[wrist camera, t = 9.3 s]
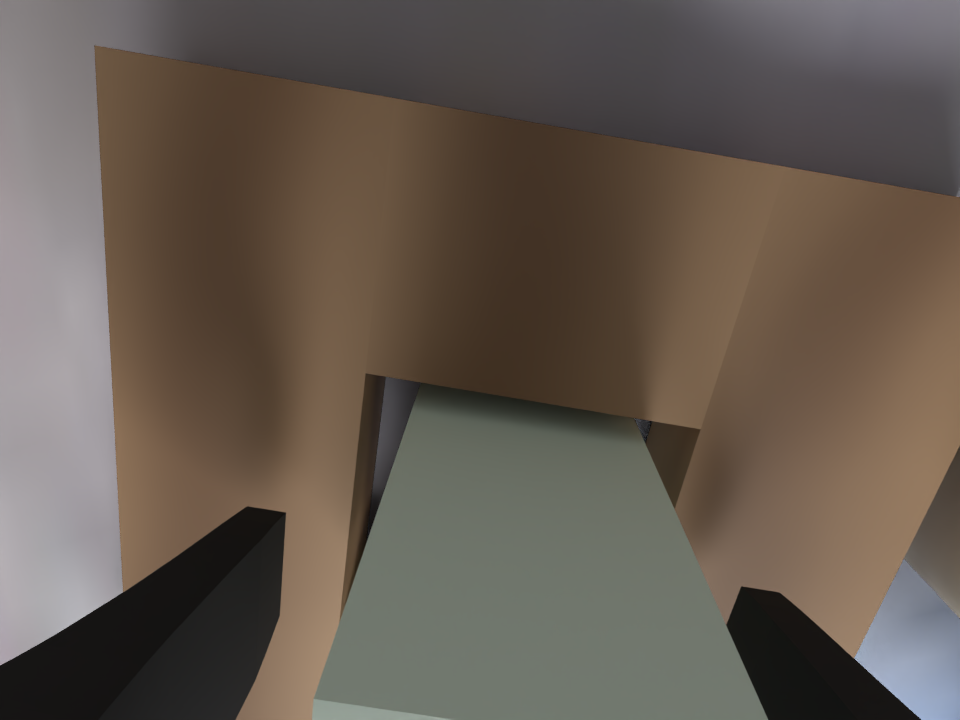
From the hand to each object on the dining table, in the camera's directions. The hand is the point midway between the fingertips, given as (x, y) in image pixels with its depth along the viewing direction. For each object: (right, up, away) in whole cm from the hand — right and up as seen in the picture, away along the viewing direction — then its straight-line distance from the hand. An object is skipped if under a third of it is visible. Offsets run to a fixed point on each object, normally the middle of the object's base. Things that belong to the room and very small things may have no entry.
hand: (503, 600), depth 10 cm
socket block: (0, +1, +4) cm, 4 cm away
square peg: (0, +2, +4) cm, 4 cm away
